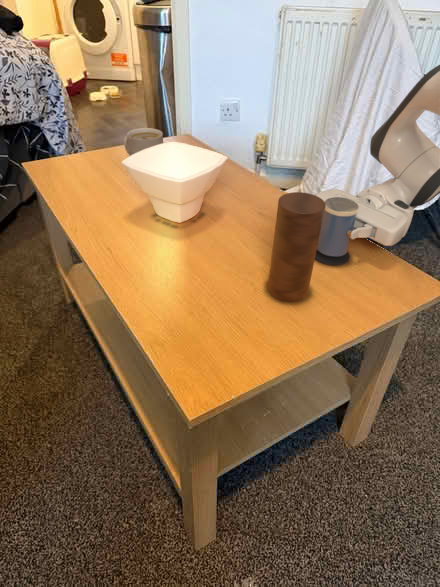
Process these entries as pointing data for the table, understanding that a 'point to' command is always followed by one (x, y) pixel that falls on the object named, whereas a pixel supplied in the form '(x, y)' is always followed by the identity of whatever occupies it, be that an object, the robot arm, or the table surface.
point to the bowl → (175, 177)
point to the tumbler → (337, 226)
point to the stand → (295, 245)
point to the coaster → (331, 259)
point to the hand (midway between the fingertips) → (333, 226)
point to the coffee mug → (142, 139)
